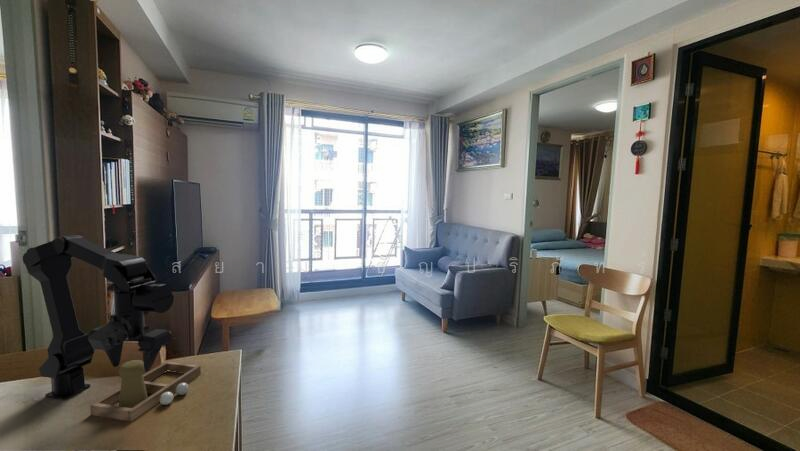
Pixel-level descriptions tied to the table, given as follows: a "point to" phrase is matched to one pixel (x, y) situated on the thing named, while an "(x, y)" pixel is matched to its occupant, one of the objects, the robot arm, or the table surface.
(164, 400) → the pebble
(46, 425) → the table surface
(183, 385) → the pebble
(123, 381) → the olive tapered figurine
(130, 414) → the caddy
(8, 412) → the table surface
